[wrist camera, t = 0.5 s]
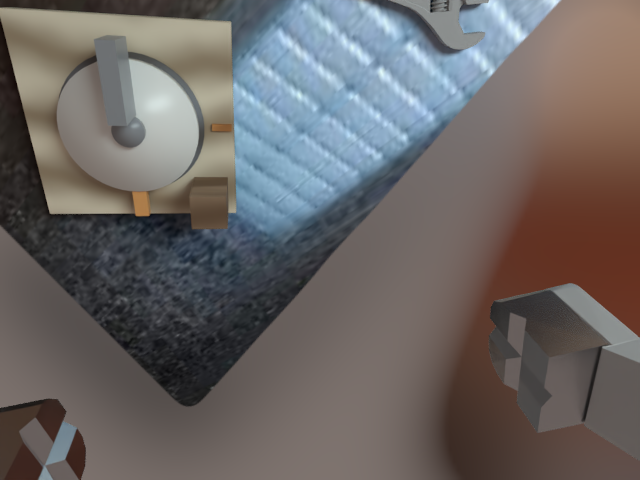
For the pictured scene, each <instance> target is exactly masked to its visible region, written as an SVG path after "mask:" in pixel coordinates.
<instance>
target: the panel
mask: <svg viewBox="0 0 640 480" xmlns="http://www.w3.org/2000/svg"><path fill="white" fill-rule="evenodd" d="M0 18H1V22H2V26H3V30H4V34H5V38H6V42H7V45H8V49H9V53H10V57H11V61H12V65H13V69H14V73H15V77H16V81H17V85H18V89H19V93H20V97H21V101H22V105H23V109H24V113H25V117H26V121H27V125H28V129H29V133H30V137H31V141H32V145H33V149H34V152H35V156H36V160H37V164H38V168H39V172H40V176H41V180H42V184H43V188H44V192H45V196H46V200H47V204H48V208H49V212H50V214H122V213H135V207H134V200H133V194H132V191H126V190H121V189H117V188H114V187H111V186H109V185H106V184H104V183H102V182H100V181H98V180H96V179H95V178H93V177H92V176H90V175H89V174H88V173H86V172H85V171H84V170H83V169H82V168H81V167H80V166H79V165H78V164H77V163H76V162H75V161H74V160H73V158H72V157H71V156H70V154H69V153H68V151H67V150H66V148H65V146H64V144H63V142H62V139H61V137H60V133H59V130H58V125H57V106H58V101H59V98H60V94H61V92H62V90H63V88H64V86H65V85H66V84H67V82H68V81H69V79H70V78H71V77H72V76H74V75H75V74H76V73H77V72H78V71H80V70H81V69H83V68H84V67H86V66H88V65H90V64H93V63H95V62H97V57H96V51H95V44H94V39H96V38H99V37H102V36H105V35H115V36H126V42H127V49H128V57H129V58H134V59H138V60H142V61H145V62H147V63H150V64H153V65H154V66H156V67H158V68H160V69H162V70H163V71H165V72H166V73H168V74H169V75H170V76H171V77H173V78H174V79H175V80H176V81H177V82H178V83H179V84H180V85H181V86H182V87H183V89H184V90H185V91H186V93H187V94H188V96H189V98H190V99H191V101H192V103H193V105H194V108H195V110H196V113H197V117H198V122H199V141H198V146H197V149H196V152H195V156H194V158H193V160H192V162H191V164H190V166H189V167H188V169H187V170H186V171H185V172H184V173H183V174H182V175H181V176H180V177H179V178H178V179H177V180H175V181H174V182H172V183H171V184H169V185H166V186H164V187H162V188H159V189H155V190H150V191H148V193H149V201H150V209H151V213H191V211H190V199H189V196H190V192H191V189H192V185H193V181H194V177H228V198H229V211H228V213H236V180H235V144H234V108H233V72H232V36H231V21H216V20H201V19H185V18H169V17H153V16H138V15H122V14H106V13H91V12H75V11H59V10H43V9H28V8H12V7H5V8H0Z"/></svg>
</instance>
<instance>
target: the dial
mask: <svg viewBox="0 0 640 480" xmlns="http://www.w3.org/2000/svg"><path fill="white" fill-rule="evenodd" d="M94 44H95V51H96V57H97V62H95V63H93V64H90V65H88V66H86V67H84V68H83V69H81V70H80V71H78V72H77V73H76V74H75V75H74V76H72V77H71V78H70V79H69V81H68V82H67V84H66V85H65V86H64V88H63V90H62V92H61V94H60V98H59V101H58V106H57V125H58V130H59V133H60V137H61V139H62V142H63V144H64V146H65V148H66V150H67V151H68V153H69V154H70V156H71V157H72V158H73V160H74V161H75V162H76V163H77V164H78V165H79V166H80V167H81V168H82V169H83V170H84V171H85V172H86V173H88V174H89V175H90V176H92V177H93V178H95V179H96V180H98V181H100V182H102V183H104V184H106V185H109V186H111V187H114V188H117V189H121V190H126V191H132V194H133V200H134V207H135V214H136V216H149V215H150V213H151V209H150V201H149V193H148V191H150V190H155V189H159V188H162V187H164V186H166V185H169V184H171V183H172V182H174V181H175V180H177V179H178V178H179V177H180V176H181V175H182V174H183V173H184V172H185V171H186V170H187V169H188V167H189V166H190V164H191V162H192V160H193V158H194V156H195V152H196V149H197V146H198V141H199V122H198V117H197V113H196V110H195V108H194V105H193V103H192V101H191V99H190V98H189V96H188V94H187V93H186V91H185V90H184V89H183V87H182V86H181V85H180V84H179V83H178V82H177V81H176V80H175V79H174V78H173V77H171V76H170V75H169V74H168V73H166V72H165V71H163V70H162V69H160V68H158V67H156V66H154V65H153V64H150V63H147V62H145V61H142V60H138V59H134V58H129V57H128V49H127V42H126V36H115V35H105V36H102V37H99V38H96V39H94Z"/></svg>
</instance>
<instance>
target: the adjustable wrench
mask: <svg viewBox="0 0 640 480" xmlns="http://www.w3.org/2000/svg"><path fill="white" fill-rule="evenodd" d="M388 1H391V2H394V3H396V4H399V5H402V6H404V7H407V8H409V9H411V10H412V11H414V12H415V13H416V14H417V15H418V16H419V17H420V18H421V19H422V20H423V21H424V22H425V23H426V24H427V25H428V26H429V28H430V29H431V30H432V32H433V33H434V34H435V36H436V37H437V38H438V40H439V41H440V42H441V43H442V44H443V45H445V46H447V47H449V48H453V49H467V48H470V47H472V46H474V45H476V44H477V43H478V42H480V41H481V40H482V39H483V38H484V36H485V32H471V33H463V31H462V29H461V26H460V24H459V22H458V19H459V9H460V7H461V6H462V5H470V4H480V3H488V1H489V0H433V3H430V0H388ZM444 2H445V4H444ZM430 5H432V7H430ZM444 7H445V8H444ZM430 9H432V12H430Z"/></svg>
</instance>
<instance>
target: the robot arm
mask: <svg viewBox="0 0 640 480" xmlns="http://www.w3.org/2000/svg"><path fill="white" fill-rule="evenodd" d="M490 314H491V315H490V318H491V320H492V321H493V322H494V324H495V325H496V328H495V329H494V330H493V331H492V333H491V334H490V335H489V352H490V356H491V360H492V363H493V365H494V368H495V370H496V372H497V374H498V375H499V377H500V378H501V380H502V381H503V383H504V384H505V385H507V386H509V387H511V388H513V389H515V390H517V391H518V396H517V404H518V405H519V407H520V408H521V409H522V411H523V412H524V414H525V415H526V417H527V418H528V419H529V421H530V422H531V424H532V425H533V427H534V428H535V430H536V431H537V433H539V432H544V431H549V430H554V429H559V428H563V427H568V426H573V425H578V424H582V423H585V424H584V426H585V427H587V428H588V429H590V430H592V431H593V432H595V433H597V434H598V435H600V436H601V437H603V438H604V439H606V440H607V441H609V442H611V443H612V444H614V445H615V446H617V447H618V448H620V449H622V450H623V451H625V452H626V453H628V454H629V455H631V456H633V457H634V458H636V459H637V460H639V461H640V338H639V337H638V336H637V335H636V334H634V333H633V332H632V331H631V330H630V329H629V328H627V327H626V326H625V325H624V324H623V323H621V322H620V321H619V320H618V319H617V318H616V317H614V316H613V315H612V314H611V313H610V312H608V311H607V310H606V309H605V308H604V307H602V306H601V305H600V304H599V303H598V302H597V301H595V300H594V299H593V298H592V297H591V296H589V295H588V294H587V293H586V292H585V291H584V290H582V289H581V288H580V287H579V286H577V285H574V284H571V283H569V284H565V285H561V286H556V287H552V288H548V289H545V290H542V291H537V292H533V293H529V294H524V295H519V296H515V297H511V298H506V299H502V300H497V301H494V302H493V304H492V306H491V313H490ZM65 415H66V410H65V409H64V407H63V406H62V404H61V403H60V402H59V400H58V399H44V400H39V401H34V402H29V403H23V404H18V405H13V406H8V407H4V408H0V480H81V478H82V474H83V471H84V468H85V460H86V447H85V444H84V440H83V437H82V435H81V433H80V432H79V430H78V429H77V428H76V427H74V426H72V425H69V424H68V423H65V422H63V421H64V417H65Z"/></svg>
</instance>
